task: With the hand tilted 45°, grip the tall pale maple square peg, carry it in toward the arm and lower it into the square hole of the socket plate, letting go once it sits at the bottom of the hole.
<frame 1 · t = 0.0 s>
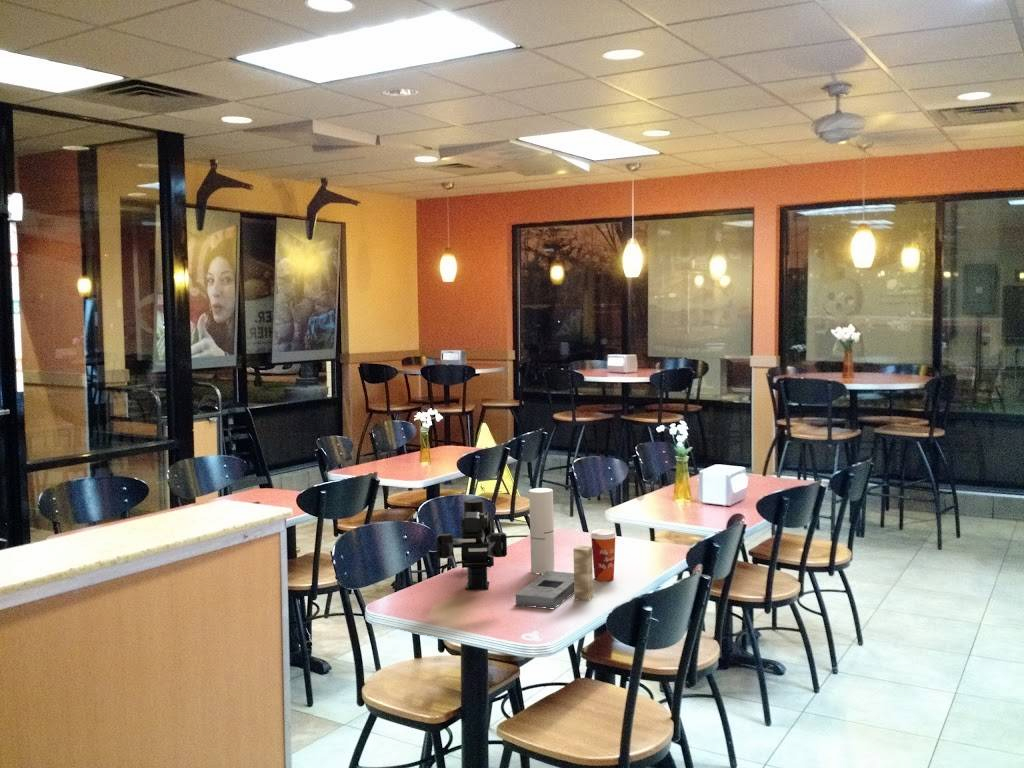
hand: (469, 553, 238), 17 cm above the table, tool horizontal, fingers open, 9 cm apart
cylindrical container: (542, 571, 279), on the table
paper cup: (604, 579, 270), on the table
socket plate: (550, 594, 256), on the table
maple peg: (583, 597, 252), on the table
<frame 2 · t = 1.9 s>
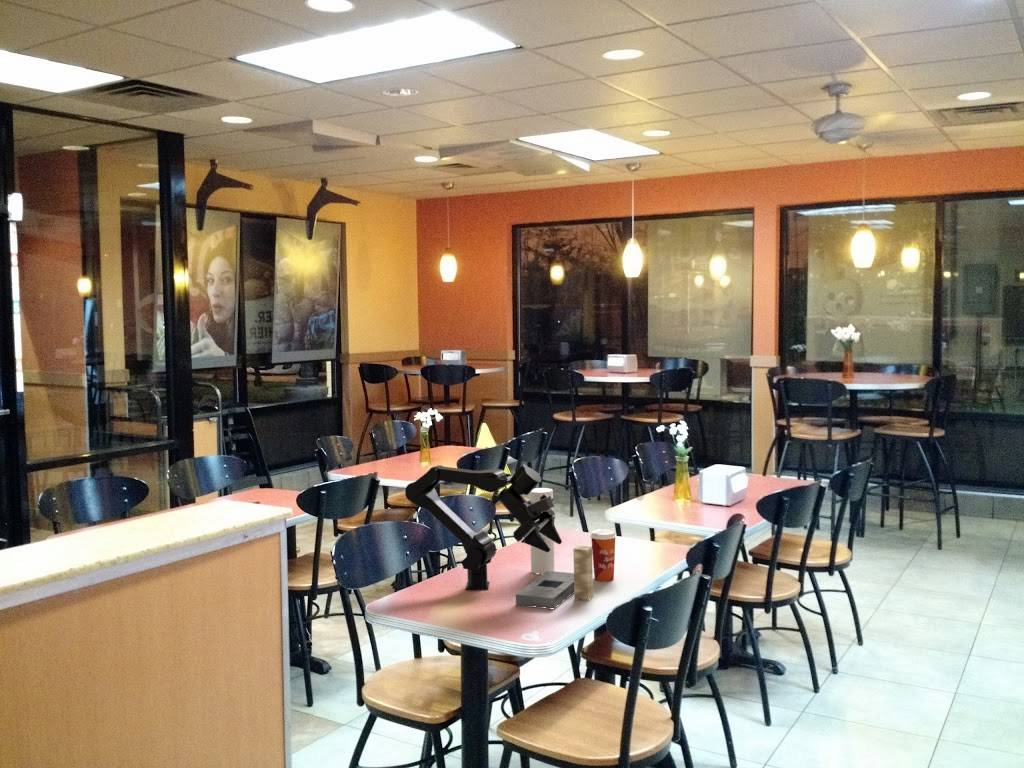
hand: (555, 547, 254), 14 cm above the table, tool tilted 45°, fingers open, 9 cm apart
nothing on the table moved.
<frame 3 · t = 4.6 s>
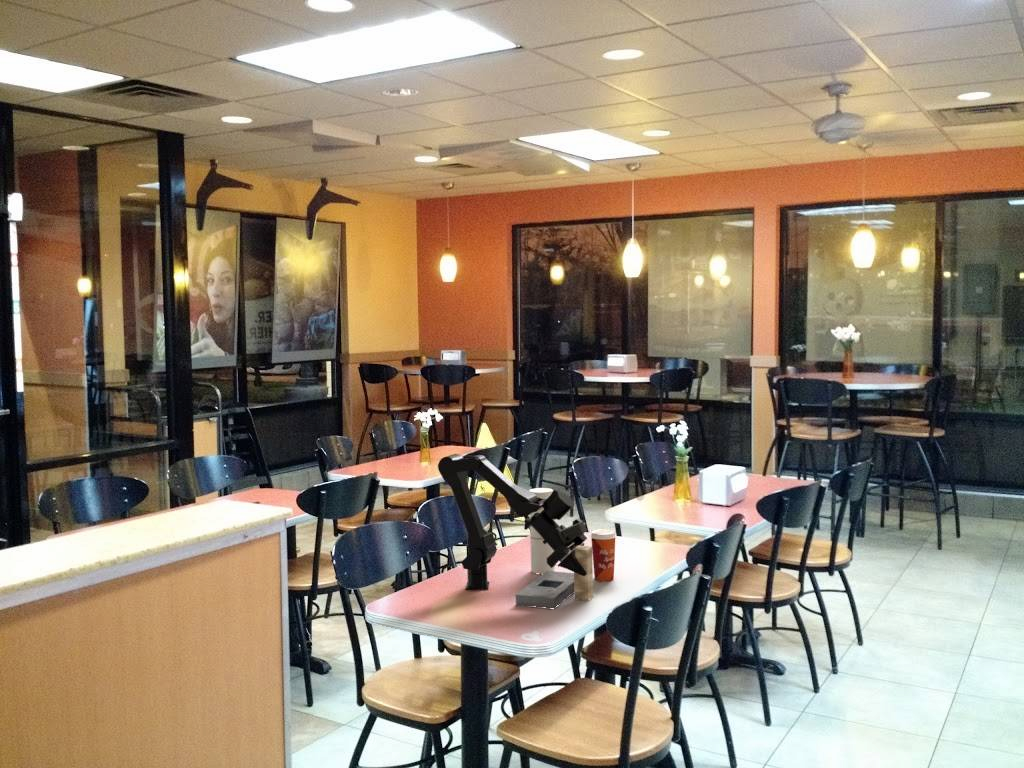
hand: (588, 572, 251), 7 cm above the table, tool tilted 45°, fingers closed on maple peg, 4 cm apart
maple peg: (583, 597, 252), on the table, touching gripper
everything else where it was.
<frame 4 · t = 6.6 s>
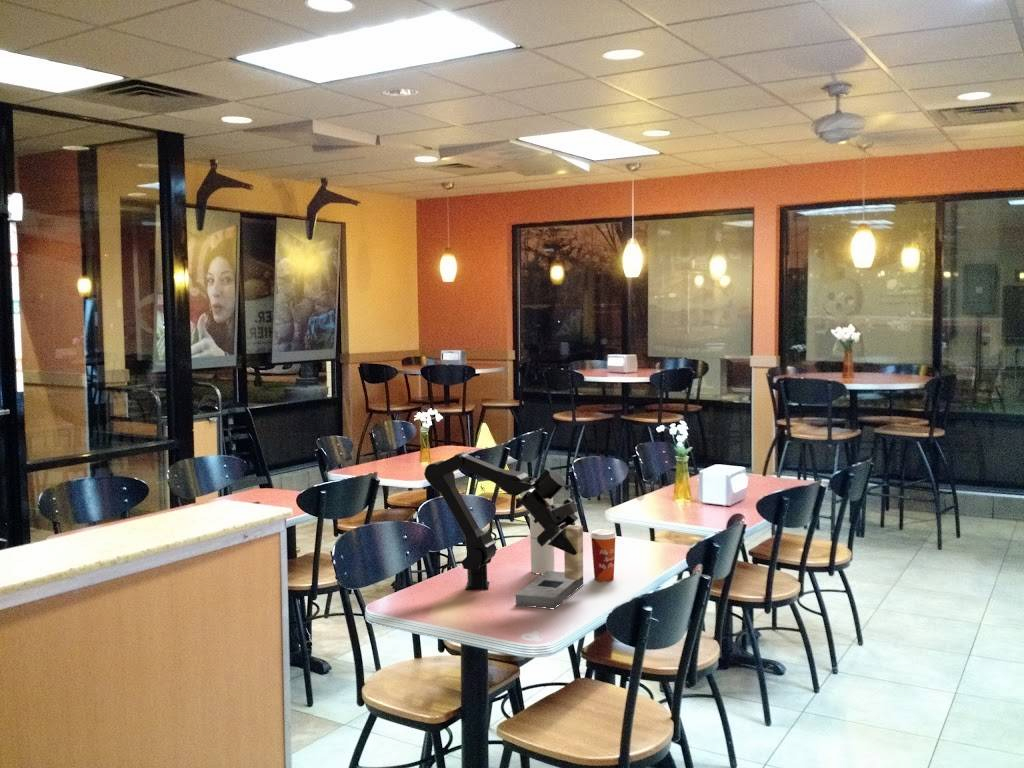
hand: (578, 552, 252), 13 cm above the table, tool tilted 45°, fingers closed on maple peg, 4 cm apart
maple peg: (573, 577, 253), point 6 cm above the table, touching gripper
everything else where it was.
when the fingers open (8 cm above the table, at t = 8.8 s): maple peg stays where it is, resting in socket plate.
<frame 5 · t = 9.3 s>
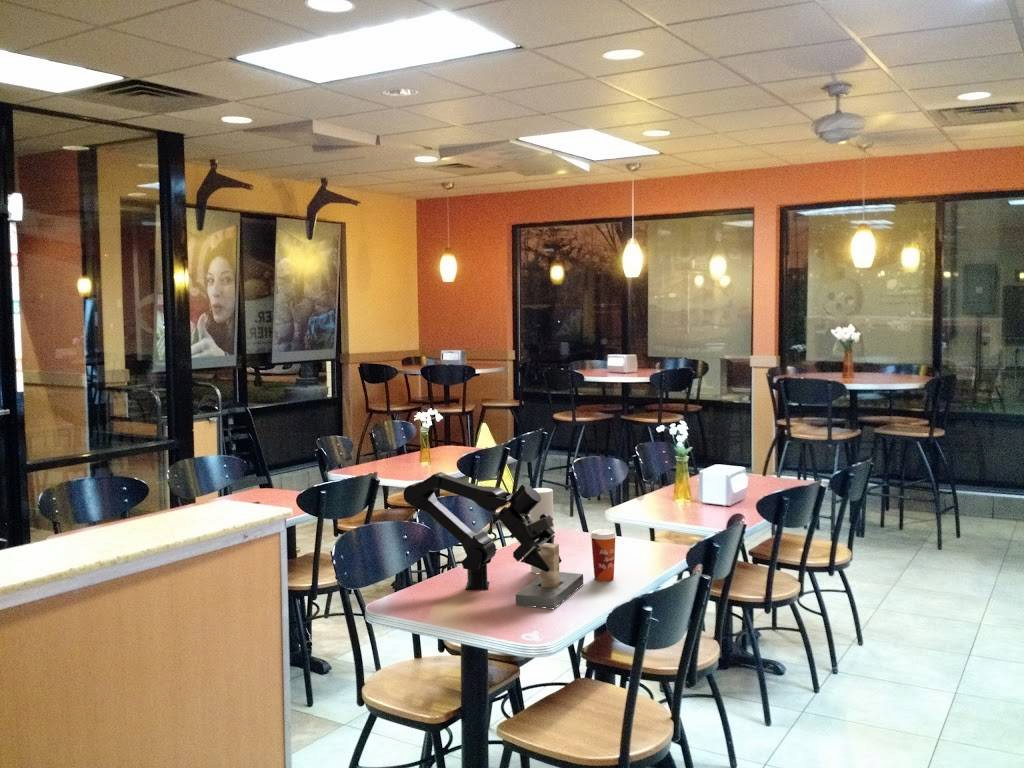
hand: (554, 566, 255), 8 cm above the table, tool tilted 45°, fingers open, 9 cm apart
maple peg: (550, 594, 256), resting in socket plate
everything else where it was.
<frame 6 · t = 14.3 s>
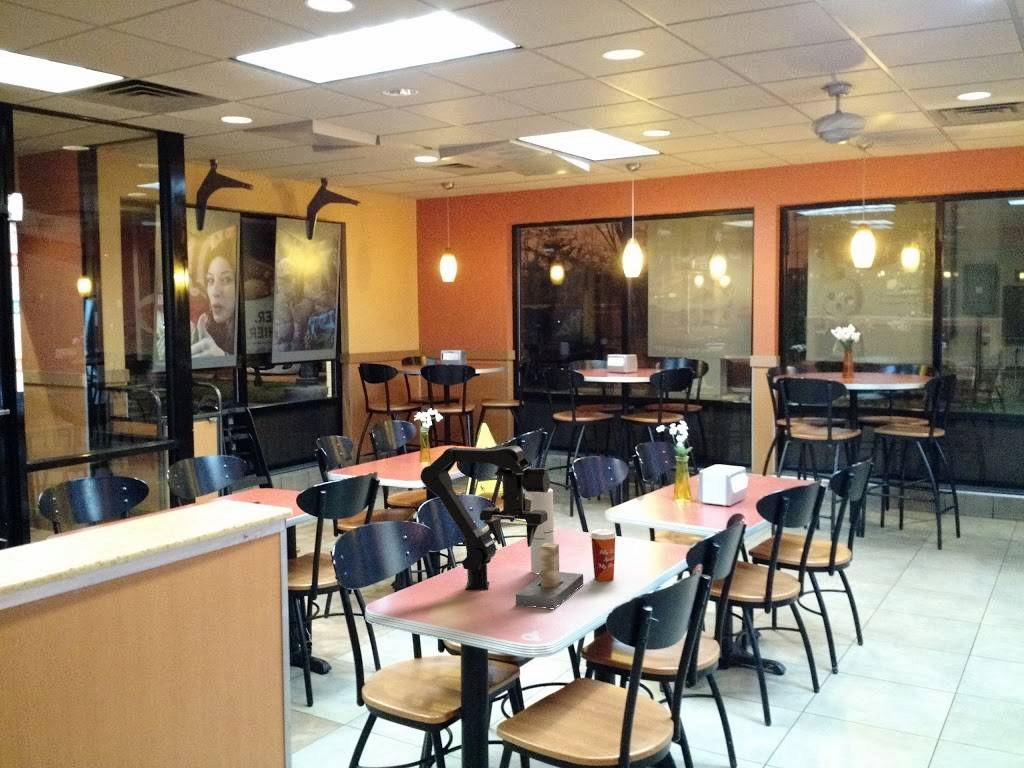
hand: (514, 545, 260), 13 cm above the table, tool pointing down, fingers open, 9 cm apart
nothing on the table moved.
at the end: maple peg 0.0 cm off-centre on the socket plate, point 0.0 cm above the socket plate's base; maple peg tilted 0°; the gripper is holding nothing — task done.
